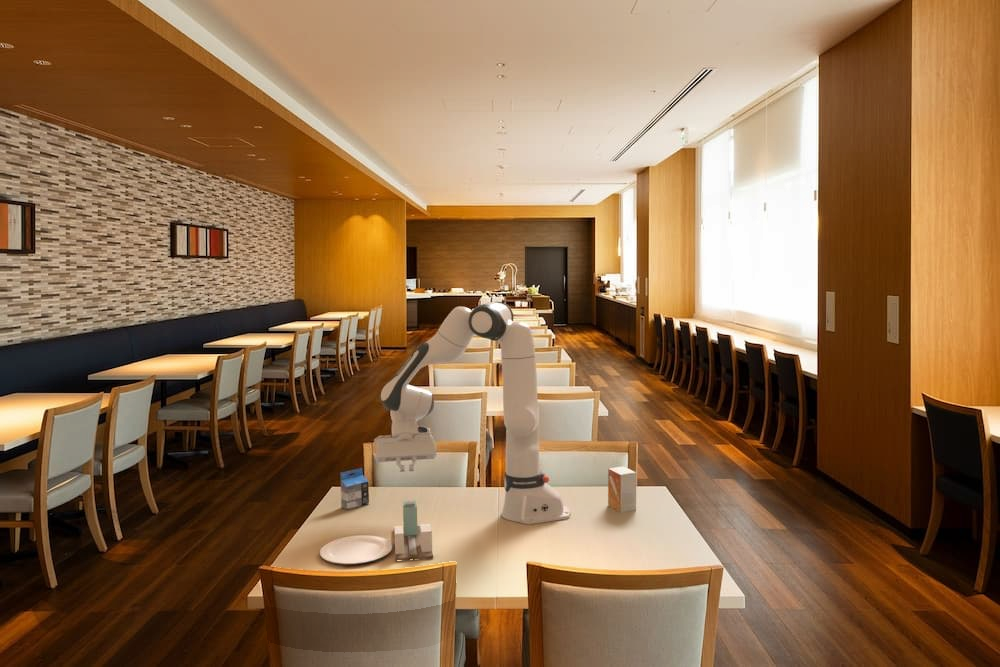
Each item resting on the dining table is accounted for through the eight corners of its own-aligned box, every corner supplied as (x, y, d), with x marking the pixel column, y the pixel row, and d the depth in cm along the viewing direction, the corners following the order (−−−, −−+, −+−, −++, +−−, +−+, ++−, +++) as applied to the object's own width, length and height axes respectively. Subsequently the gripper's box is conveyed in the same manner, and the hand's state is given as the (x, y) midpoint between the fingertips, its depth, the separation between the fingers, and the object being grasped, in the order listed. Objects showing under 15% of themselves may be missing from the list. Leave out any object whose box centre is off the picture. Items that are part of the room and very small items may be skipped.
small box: (607, 505, 256) (607, 468, 255) (623, 502, 259) (623, 465, 257) (620, 512, 249) (620, 474, 247) (636, 510, 251) (636, 472, 250)
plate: (346, 536, 232) (346, 531, 232) (405, 545, 224) (405, 540, 224) (304, 562, 213) (304, 556, 213) (367, 573, 205) (367, 567, 205)
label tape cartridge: (346, 510, 255) (345, 475, 253) (341, 507, 258) (339, 472, 256) (369, 504, 260) (368, 469, 259) (363, 501, 263) (362, 467, 262)
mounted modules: (430, 543, 222) (430, 523, 222) (432, 551, 216) (431, 531, 216) (394, 546, 221) (394, 526, 220) (395, 554, 215) (394, 533, 214)
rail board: (427, 528, 237) (427, 524, 237) (433, 558, 214) (432, 554, 213) (393, 530, 235) (393, 526, 235) (395, 561, 212) (395, 557, 212)
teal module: (416, 527, 233) (415, 497, 232) (417, 534, 228) (416, 504, 227) (403, 528, 233) (402, 498, 232) (404, 535, 227) (403, 505, 226)
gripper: (373, 431, 251) (374, 468, 243) (434, 428, 254) (437, 464, 246) (374, 441, 256) (375, 477, 247) (434, 437, 259) (437, 473, 251)
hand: (406, 470), depth 247 cm, fingers closed
